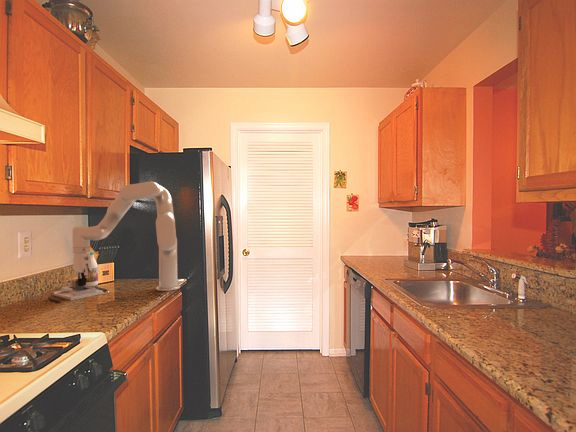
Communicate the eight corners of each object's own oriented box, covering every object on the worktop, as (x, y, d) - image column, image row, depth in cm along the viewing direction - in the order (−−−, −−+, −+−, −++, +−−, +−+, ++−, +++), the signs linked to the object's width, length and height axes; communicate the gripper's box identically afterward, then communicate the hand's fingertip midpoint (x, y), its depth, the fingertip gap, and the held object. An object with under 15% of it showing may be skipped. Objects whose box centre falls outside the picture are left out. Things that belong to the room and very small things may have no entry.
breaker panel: (85, 288, 176) (84, 282, 176) (103, 293, 165) (102, 287, 165) (53, 294, 164) (53, 288, 164) (70, 300, 153) (70, 293, 153)
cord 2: (91, 289, 176) (91, 287, 176) (96, 288, 178) (96, 286, 178) (102, 292, 169) (102, 290, 169) (107, 291, 171) (107, 289, 171)
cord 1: (48, 299, 155) (48, 297, 155) (51, 298, 156) (51, 296, 156) (59, 303, 148) (59, 300, 148) (62, 302, 149) (62, 300, 149)
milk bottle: (80, 286, 183) (79, 252, 183) (94, 283, 190) (93, 250, 190) (86, 287, 179) (85, 253, 179) (100, 285, 185) (99, 251, 185)
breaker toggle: (80, 289, 168) (80, 276, 168) (84, 290, 165) (84, 277, 165) (72, 291, 164) (72, 278, 164) (75, 292, 162) (75, 278, 162)
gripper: (96, 250, 161) (96, 285, 161) (82, 248, 169) (83, 282, 170) (80, 251, 155) (80, 288, 155) (66, 250, 163) (67, 285, 163)
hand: (82, 285), depth 162 cm, fingers closed
